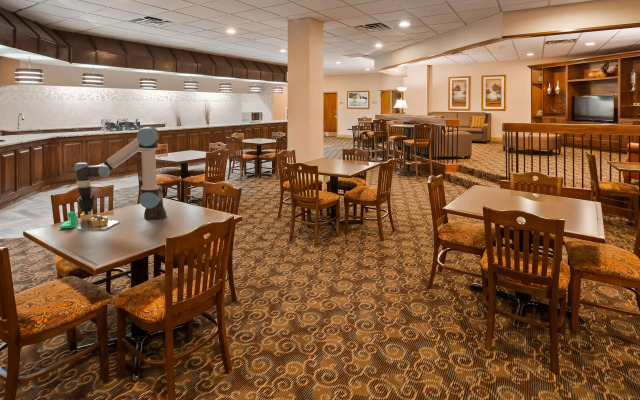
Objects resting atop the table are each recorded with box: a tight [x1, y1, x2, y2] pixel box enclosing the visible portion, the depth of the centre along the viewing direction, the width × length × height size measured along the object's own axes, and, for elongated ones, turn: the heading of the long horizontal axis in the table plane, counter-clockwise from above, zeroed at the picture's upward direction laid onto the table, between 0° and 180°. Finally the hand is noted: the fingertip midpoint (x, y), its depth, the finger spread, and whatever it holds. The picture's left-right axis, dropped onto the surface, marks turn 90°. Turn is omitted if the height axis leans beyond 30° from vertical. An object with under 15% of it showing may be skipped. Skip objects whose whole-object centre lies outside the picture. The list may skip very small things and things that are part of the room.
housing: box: [77, 214, 120, 231], centre depth 266 cm, size 19×18×7 cm
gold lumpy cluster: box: [79, 213, 109, 226], centre depth 266 cm, size 16×11×7 cm
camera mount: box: [59, 211, 79, 229], centre depth 264 cm, size 12×8×10 cm, turn 18°
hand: (88, 220), depth 269 cm, fingers closed
